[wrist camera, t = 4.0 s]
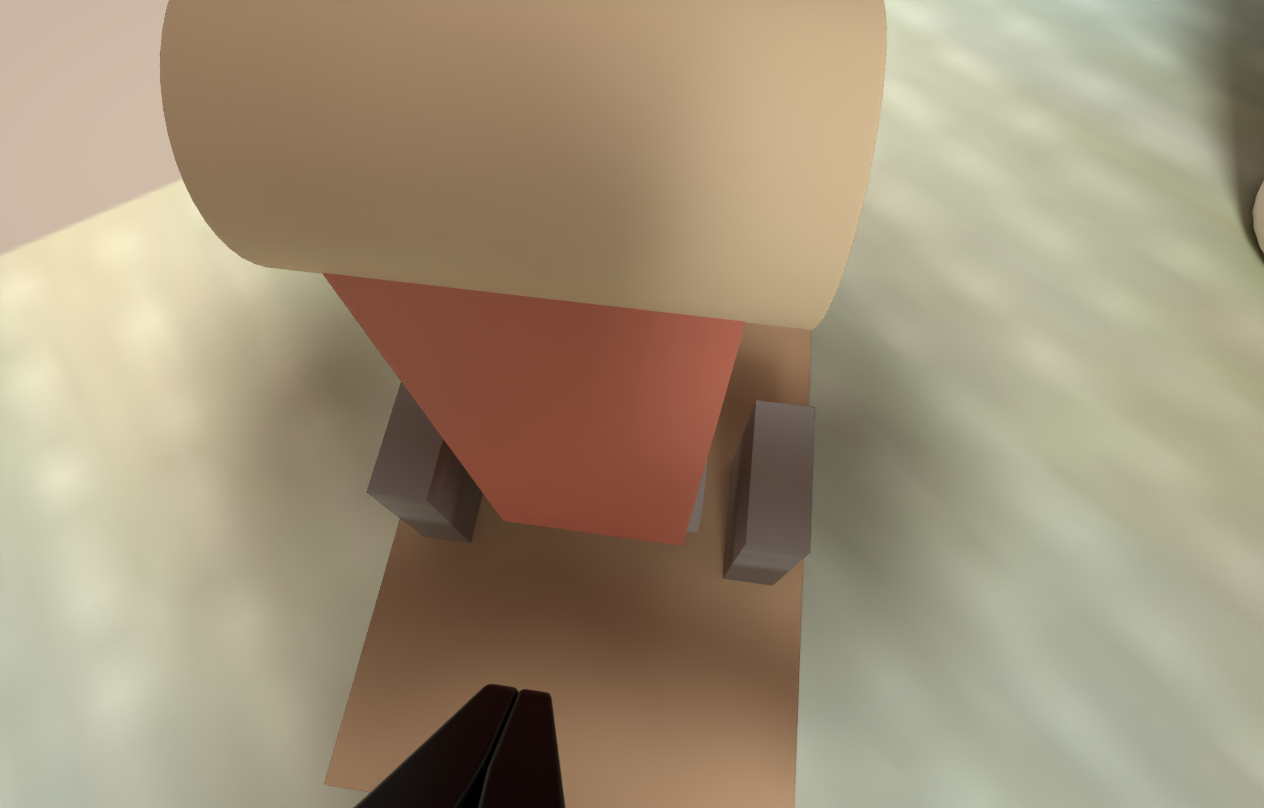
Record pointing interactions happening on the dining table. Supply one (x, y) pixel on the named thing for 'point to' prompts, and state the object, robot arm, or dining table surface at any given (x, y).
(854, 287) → the dining table surface
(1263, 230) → the milk bottle
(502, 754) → the robot arm
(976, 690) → the dining table surface
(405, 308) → the lever
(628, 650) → the base
